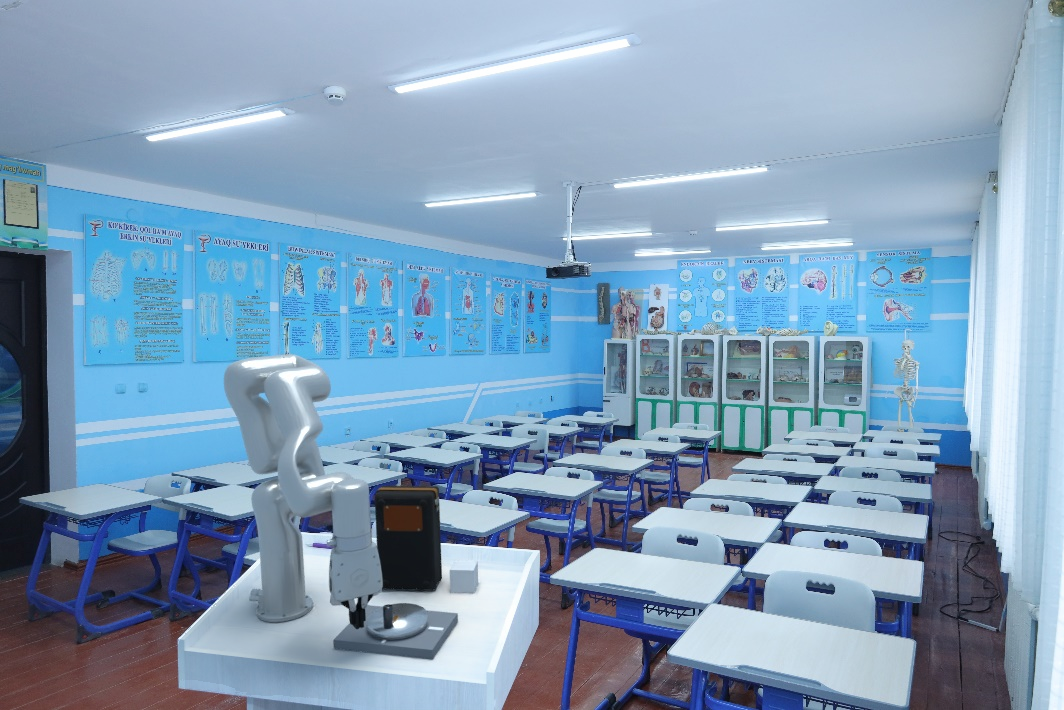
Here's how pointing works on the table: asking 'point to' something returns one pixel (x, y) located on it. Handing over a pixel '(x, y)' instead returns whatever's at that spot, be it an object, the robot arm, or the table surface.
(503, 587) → the table surface
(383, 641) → the grey base plate
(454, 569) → the light grey cube
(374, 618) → the dial
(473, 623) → the table surface
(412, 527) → the voltmeter
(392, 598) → the table surface
